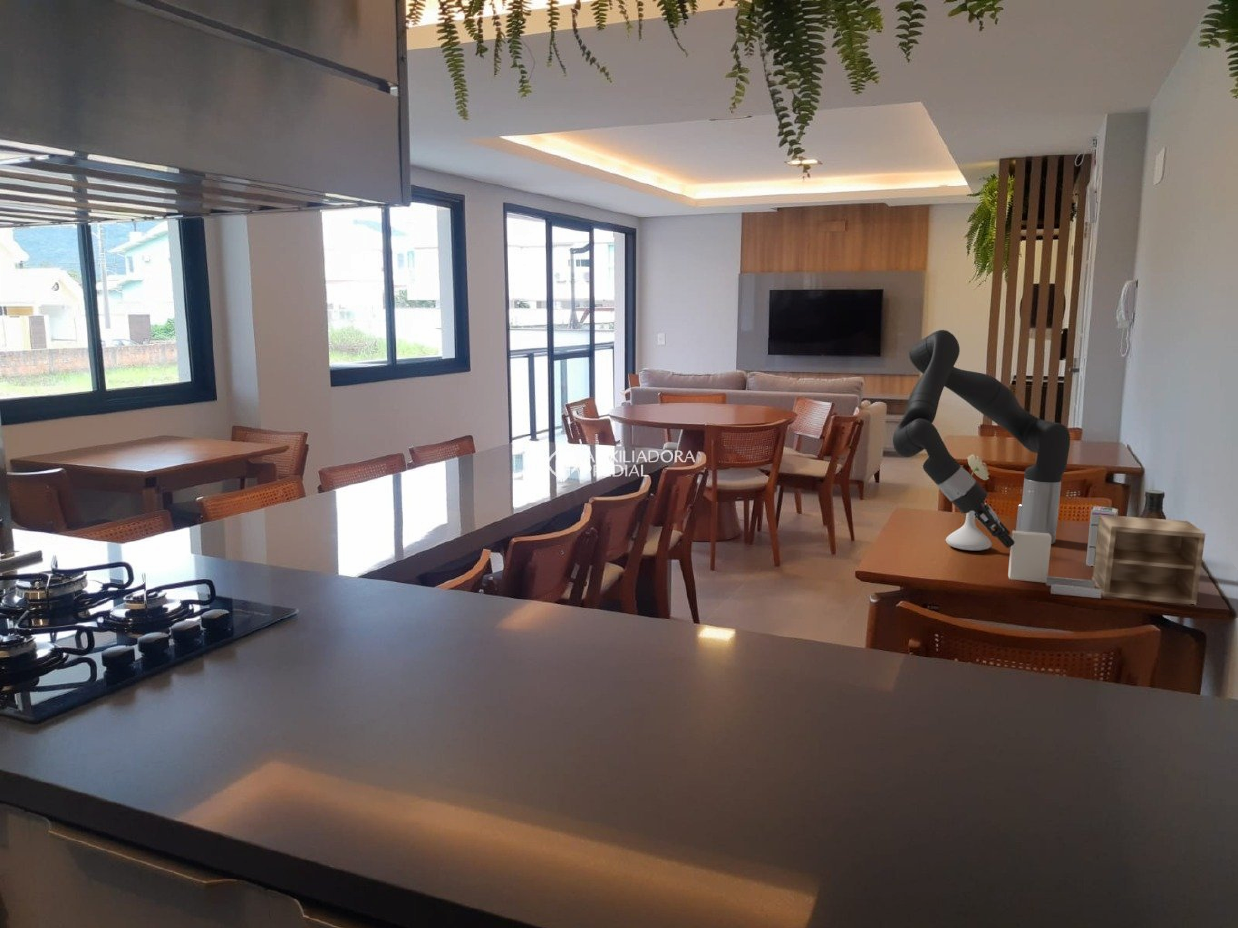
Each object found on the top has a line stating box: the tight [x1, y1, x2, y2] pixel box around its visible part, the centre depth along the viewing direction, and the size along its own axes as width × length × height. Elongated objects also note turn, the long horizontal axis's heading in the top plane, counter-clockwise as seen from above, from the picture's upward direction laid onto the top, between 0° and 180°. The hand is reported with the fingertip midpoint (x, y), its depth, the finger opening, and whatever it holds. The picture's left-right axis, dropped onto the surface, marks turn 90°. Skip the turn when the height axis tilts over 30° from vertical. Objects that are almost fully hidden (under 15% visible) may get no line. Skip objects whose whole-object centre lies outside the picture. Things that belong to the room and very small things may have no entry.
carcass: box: [1091, 515, 1206, 606], centre depth 198 cm, size 18×12×16 cm, turn 73°
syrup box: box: [1085, 505, 1119, 568], centre depth 219 cm, size 6×6×14 cm
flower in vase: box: [945, 453, 993, 552], centre depth 233 cm, size 13×11×25 cm
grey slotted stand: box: [1045, 575, 1102, 599], centre depth 199 cm, size 10×7×2 cm
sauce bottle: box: [1139, 489, 1167, 520], centre depth 215 cm, size 7×6×20 cm
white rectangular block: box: [1007, 530, 1052, 584], centre depth 207 cm, size 8×4×11 cm, turn 73°
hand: (1009, 540), depth 208 cm, fingers open, 8 cm apart
